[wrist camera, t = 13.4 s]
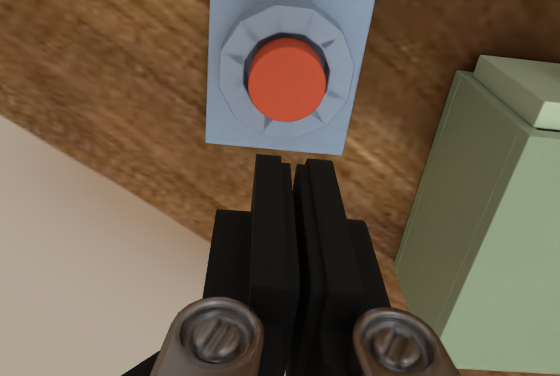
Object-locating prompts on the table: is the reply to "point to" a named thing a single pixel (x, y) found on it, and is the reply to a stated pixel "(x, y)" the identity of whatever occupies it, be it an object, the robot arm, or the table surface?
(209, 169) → the table surface
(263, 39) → the switch box
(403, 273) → the bedside cabinet
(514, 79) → the shelf drawer
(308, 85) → the red switch button
